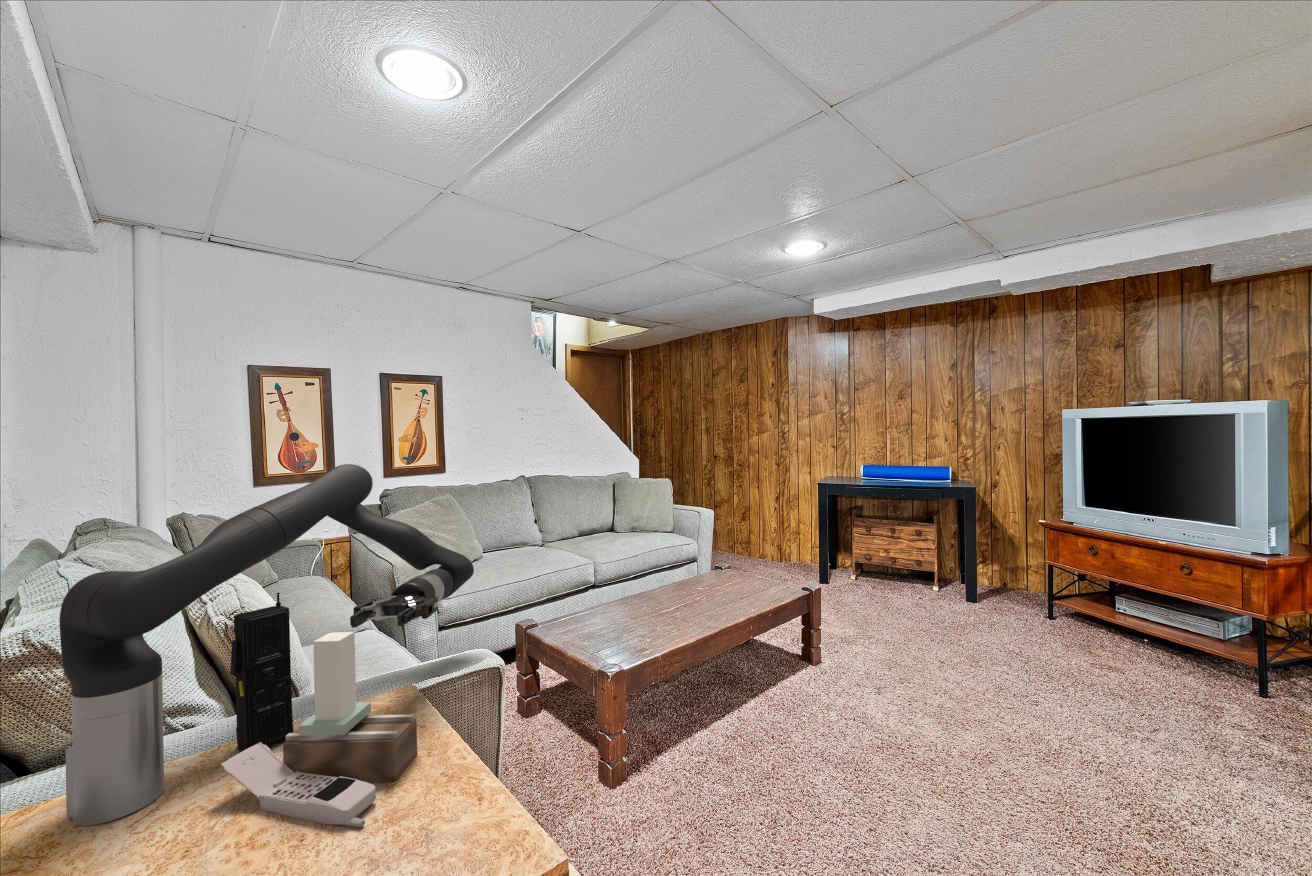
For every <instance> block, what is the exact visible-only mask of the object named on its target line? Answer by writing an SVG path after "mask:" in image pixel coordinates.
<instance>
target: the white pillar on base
mask: <svg viewBox="0 0 1312 876" xmlns="http://www.w3.org/2000/svg"><path fill="white" fill-rule="evenodd" d="M355 635H356V634H355V631H339V632H337V631H336V632H335V631H334V632H328V633H327V634H325V635H323V636H321V637H319V638H318V639H315V640H313V641H312V643H313V679H314V680H313V682H314V685H313V686H314V714H312V715H311V716H310V717H308V718H307V719H305V720H304V721H303V722H302V723H300V724H299V725H298V732H299V736H313V735H345V734H346V733H347V732H348V731H349V730H351V729H352V728H353V727H354V726H355V725H356V724H357V723H359V722H360V721H361V720H362V719H363V718H364V717H365V716H367V715H370V713H371V712H372V704H371V703H372V702H357V682H356V681H357V679H356V678H357V677H356V652H355V651H356V648H355V647H356V644H355V639H356V637H355Z"/></svg>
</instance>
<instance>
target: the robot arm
mask: <svg viewBox="0 0 1312 876" xmlns="http://www.w3.org/2000/svg"><path fill="white" fill-rule="evenodd" d="M373 485H374V482H373V477H372V475H371V473H370V472H369V471H368V470H367V469H366V468H365V467H362V466H360V465H357V464H352V463H351V464H350V463H345V464H340V465H337V466H335V467H334V468H332V469H331V470H329V471H328V472H326V473H324V474H323V475H321V476H320V477H318V478H317V479H315V480H313V481H311V482H309V483H308V484H306V485H304V486H302V487H300V488H297V489H295V490H292V491H290V492H287V493H284V494H282V495H280V496H279V495H278V496H277V497H275V498H273V499H269V500H267V501H265V502H263V503H262V504H259V505H257V506H253V507H251V508H249V509H246V510H245V511H243V512H240V513H239V514H237V515H235V516H232V517H231V518H230V517H229V518H227V520H225V521H223V522H221V523H220V524H219V525H218V526H216V527H215V528H213V530H212V531H211V532H210V533H209V534H208V535H207V536H206V537H204V539H203V541H202V542H201V543H199V544H198V545H197V546H196V547H194V548H192V549H191V550H190V551H188V552H185V553H183V554H182V555H180V556H177V557H175V558H172V559H171V560H168V561H166V562H163V563H161V564H159V565H156V566H153V567H151V568H150V567H149V568H147V569H144V570H139V571H134V570H133V571H132V570H131V571H128V570H127V571H124V570H108V571H107V570H106V571H100V572H95V573H93V574H89V575H88V576H86V577H85V576H84V578H81V579H80V580H79V581H77V582H76V583H75V584H74V585H72V586H71V588H70V589H69V590H68V591H67V592H66V594H65V596H64V598H63V600H62V603H61V606H60V607H61V608H60V611H59V636H60V637H59V638H60V649H61V651H60V652H61V661H62V662H61V663H62V670H63V672H64V674H65V676H66V678H67V680H68V681H69V683H70V687H71V688H70V689H71V690H70V691H71V721H72V722H71V730H72V731H71V733H72V734H71V737H72V738H71V739H72V742H71V743H72V745H70V746H69V747H68V748H67V749H66V750H65V794H66V796H65V800H66V801H65V803H66V805H65V807H66V808H65V809H66V810H65V811H66V815H65V816H66V819H72V820H73V823H74V824H76V825H79V826H93V825H99V824H104V823H107V822H111V821H114V820H118V819H120V818H123V817H125V816H128V815H130V814H132V813H134V812H136V811H137V812H138V811H139V810H140V809H143V808H144V807H146V806H147V805H150V804H151V803H152V802H154V801H155V800H157V799H158V798H159V797H160V796H161V795H162V794H163V792H164V790H165V766H164V765H165V763H164V762H165V755H164V753H165V750H164V749H165V748H164V746H165V745H164V697H163V696H164V693H163V692H164V691H163V689H164V688H163V659H162V656H161V655H160V653H159V652H158V651H156V650H155V649H153V648H152V647H151V646H150V645H149V644H148V643H147V641H146V639H145V638H144V636H143V635H144V634H147V633H149V632H152V631H153V630H155V629H156V628H158V627H159V626H161V625H163V624H165V622H167V621H168V620H170V619H171V618H173V617H175V616H176V615H177V614H178V613H180V612H182V611H183V610H184V609H185V608H187V607H188V606H190V605H191V604H193V603H194V602H195V601H197V600H198V599H200V598H201V597H202V596H204V595H206V594H207V593H209V592H210V591H211V590H213V589H215V588H216V587H218V586H220V585H221V584H224V583H225V582H227V581H229V580H231V579H233V578H234V577H236V576H238V575H239V574H241V573H243V572H244V571H246V570H248V569H250V568H252V567H253V566H255V565H257V564H259V563H261V562H262V561H265V560H266V559H268V558H269V557H271V556H273V555H276V553H279V552H280V551H282V550H283V549H285V548H286V547H288V546H289V545H291V544H292V543H294V542H295V541H296V540H298V539H299V538H300V537H302V536H303V535H304V534H306V533H307V532H308V531H309V530H311V529H312V528H313V527H315V525H317V524H318V523H319V522H321V520H323V519H325V518H326V517H327V518H330V519H332V520H334V521H337V522H338V523H340V524H342V525H343V526H344V525H345V526H347V527H348V528H350V529H352V530H353V531H355V532H358V533H359V534H361V535H363V536H365V537H367V538H368V539H371V540H373V541H375V542H376V543H378V544H380V545H381V546H383V547H385V548H386V549H388V550H390V551H391V552H392V553H393V554H395V555H396V556H398V557H399V558H401V560H403V561H404V562H406V563H407V564H408V565H410V566H411V567H413V568H414V570H415V569H416V570H418V571H423V570H425V569H428V568H429V567H431V566H433V565H439V566H438V567H437V568H435V569H432V570H431V569H430V570H428V571H427V572H425V573H423V574H420V575H417V576H415V577H413V578H411V579H409V580H407V581H405V582H403V583H401V584H400V585H398V586H397V587H396V588H395V589H394V590H393V592H392V593H391V595H390V596H389V597H387V598H385V599H379V600H377V598H371V599H369V600H367V601H364V602H362V603H360V604H358V605H357V606H354V607H353V611H352V612H353V614H351V616H350V618H349V619H350V620H349V621H350V622H349V623H350V624H349V625H350V627H351V628H352V629H353V628H358V627H359V626H361V625H363V624H364V623H366V622H369V621H372V620H375V621H382V620H385V619H386V620H387V619H388V618H392V619H394V618H397V627H404V626H405V625H406V624H409V623H410V622H411V621H416V620H418V619H419V618H420V617H421V619H422V620H423V619H424V620H426V619H428V618H430V617H431V616H432V615H433V614H435V613H436V612H437V611H438V610H439V602H441V601H442V600H445V599H448V598H449V597H451V596H452V595H453V594H455V592H457V591H458V590H459V589H460V588H461V587H463V585H464V584H466V583H467V582H468V581H469V580H470V579H471V578H472V576H473V575H474V572H475V569H474V565H473V562H472V560H470V558H468V557H467V556H466V555H464V554H461V553H459V552H456V551H453V550H452V549H449V548H447V547H444V546H442V545H440V544H437V543H436V542H435V541H433V540H432V539H431V538H430V537H428V536H427V535H426V534H424V533H423V532H422V531H420V530H419V529H418V528H416V527H414V526H412V525H411V524H407V523H405V522H402V521H398V520H395V519H392V518H391V519H390V518H387V517H384V516H381V515H380V514H378V513H375V512H373V511H371V510H370V509H368V508H366V507H365V506H364V505H363V504H362V503H363V502H364V501H365V500H366V499H367V498H368V497H369V495H370V493H371V491H372V489H373ZM381 612H382V613H383V614H381Z"/></svg>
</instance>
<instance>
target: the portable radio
mask: <svg viewBox="0 0 1312 876" xmlns="http://www.w3.org/2000/svg"><path fill="white" fill-rule="evenodd" d="M280 594H281V592H277V593H275V595H276V602H275V605H273V606H269V607H268V606H267V607H264V608H260V609H259V608H258V609H255V610H251V611H247V612H243V613H239V614H235V615H233V632H234V634H233V635H234V639H232V641H231V655H230V659H231V660H230V671H229V672H230V675H231V676H234V677H235V705H236V706H235V708H236V709H235V710H236V712H235V713H236V716H235V717H236V728H235V733H236V749H237V750H238V751H239V752H242V751H244V750H246V749H248V748H250V747H252V746H254V745H256V744H258V743H260V742H261V743H262V744H263V745H266V746H267V747H269V748H270V749H271V748H272V747H274V746H277V745H279V744H281V743H282V744H283V743H284V742H286V735H288V734H289V733H294V721H293V720H294V719H293V718H294V717H293V700H292V699H293V698H292V697H293V693H292V692H293V691H292V673H291V672H292V671H291V669H292V668H291V664H292V663H291V635H290V634H291V629H290V628H291V627H290V608H289V607H286V606H284V605H282V603H281V601H280Z"/></svg>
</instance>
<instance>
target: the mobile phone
mask: <svg viewBox="0 0 1312 876" xmlns="http://www.w3.org/2000/svg"><path fill="white" fill-rule="evenodd" d="M220 765H221V766H222V767H223V770H224V771H226V773H228V774H230V775H231V776H232V777H233V778H234V779H235V780H236V781H237V782H238V783H239V784H241V785H242V786H243V787H244V788H245V789H247V790H248V791H249V792H250V793H251V794H252V795H254V796H255V798H257V799H258V800H259V805H260V807H261V810H263V811H265V812H270V813H274V814H278V815H282V816H286V817H290V818H295V819H300V820H304V821H310V822H313V823H314V822H315V823H319V824H324V825H333V826H339V825H343V826H346V827H347V826H348V827H357V828H362V827H363V828H364V826H365V825H366V821H365V819H362V818H359V817H357V816H358V815H360V814H361V813H363V811H364V810H366V809H367V808H368V807H369V806H370V805H372V804H373V803H375V801H376V798H377V794H376V792H377V791H376V785H375V784H373V783H371V782H364V781H360V780H356V779H353V778H347V777H341V776H340V777H332V776H323V775H315V774H308V773H301V772H298V771H297V772H295V773H294V772H293V771H292V770H291V769H290V768H289V767H288V766H287V765H285V764H284V763H283V760H281V759H280V758H279V757H278V756H277V755H276V754H275V753H273V751H271V747H270V748H269V747H267V746H266V745H263V744H262V743H261V742H260V743H258V744H256V745H254V746H252V747H250V748H248V749H246V750H244V751H242V752H241V751H239V753H237V754H235V755H233V756H232V757H230V758H229V759H227V760H225V761H223V762H222V763H220Z"/></svg>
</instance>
